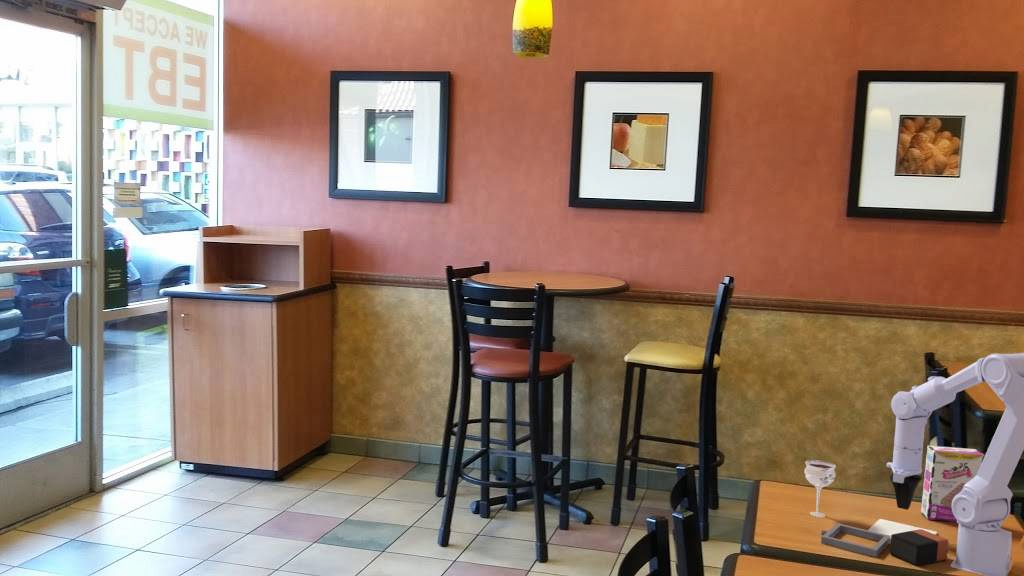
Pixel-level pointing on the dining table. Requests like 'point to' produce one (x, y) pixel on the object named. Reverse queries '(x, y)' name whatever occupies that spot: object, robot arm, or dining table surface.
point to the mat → (893, 528)
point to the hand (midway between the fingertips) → (903, 508)
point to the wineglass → (819, 478)
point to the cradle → (874, 552)
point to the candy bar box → (947, 479)
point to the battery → (919, 547)
